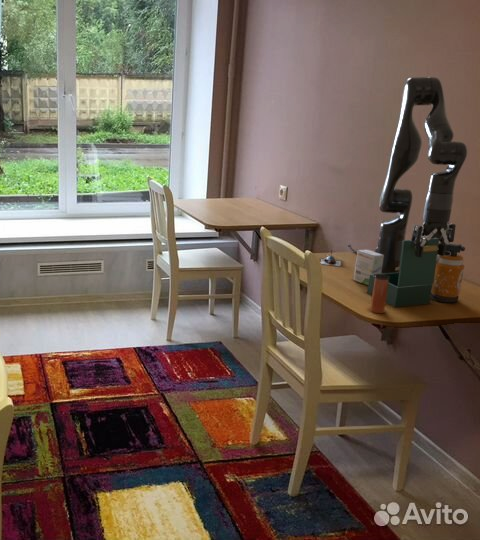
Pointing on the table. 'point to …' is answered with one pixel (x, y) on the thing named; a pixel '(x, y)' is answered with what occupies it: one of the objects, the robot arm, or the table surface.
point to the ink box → (367, 265)
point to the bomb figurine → (330, 261)
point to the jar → (379, 293)
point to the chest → (403, 292)
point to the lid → (418, 264)
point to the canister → (448, 274)
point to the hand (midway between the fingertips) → (429, 256)
